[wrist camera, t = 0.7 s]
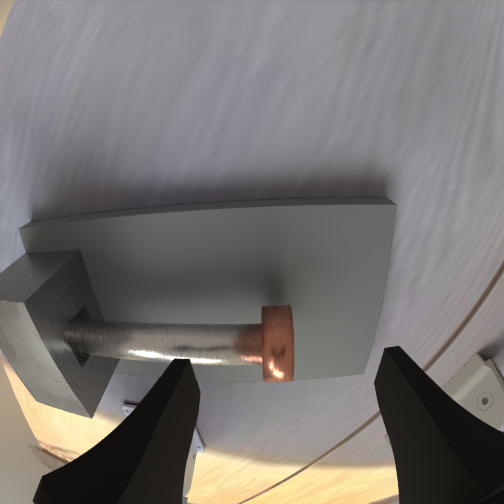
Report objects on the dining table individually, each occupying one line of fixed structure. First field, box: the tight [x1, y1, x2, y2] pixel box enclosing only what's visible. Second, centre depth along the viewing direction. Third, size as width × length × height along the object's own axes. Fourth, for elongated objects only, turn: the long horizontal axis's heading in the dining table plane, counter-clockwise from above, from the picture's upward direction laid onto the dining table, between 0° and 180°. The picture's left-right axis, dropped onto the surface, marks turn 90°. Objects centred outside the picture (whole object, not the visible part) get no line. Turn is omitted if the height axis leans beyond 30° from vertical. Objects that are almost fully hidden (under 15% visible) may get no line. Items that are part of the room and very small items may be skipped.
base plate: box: [19, 198, 396, 382], centre depth 20 cm, size 14×26×2 cm, turn 94°
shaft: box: [63, 305, 294, 382], centre depth 16 cm, size 4×15×4 cm, turn 93°
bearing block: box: [0, 250, 120, 418], centre depth 17 cm, size 10×6×6 cm, turn 4°
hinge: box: [385, 353, 504, 446], centre depth 23 cm, size 17×5×10 cm, turn 155°
